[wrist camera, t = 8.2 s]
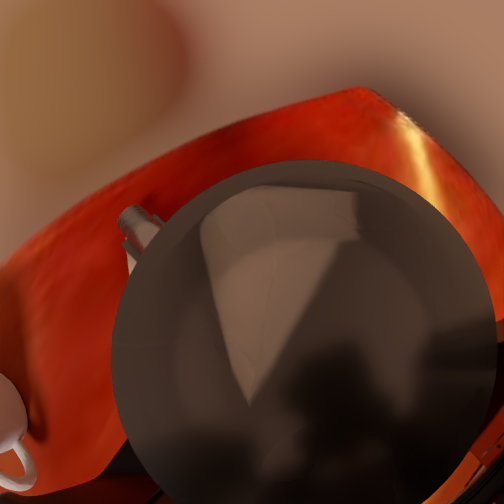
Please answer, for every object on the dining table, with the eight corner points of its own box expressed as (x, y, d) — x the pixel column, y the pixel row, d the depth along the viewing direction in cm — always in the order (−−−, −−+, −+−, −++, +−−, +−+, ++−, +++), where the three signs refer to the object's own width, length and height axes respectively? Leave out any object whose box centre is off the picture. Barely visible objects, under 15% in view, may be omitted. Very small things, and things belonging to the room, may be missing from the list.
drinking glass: (314, 331, 15) (477, 206, 4) (300, 416, 13) (465, 506, 1) (227, 316, 16) (185, 137, 4) (209, 402, 13) (88, 497, 2)
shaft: (217, 273, 20) (211, 250, 16) (183, 309, 19) (169, 293, 15) (156, 220, 22) (143, 193, 18) (125, 250, 20) (106, 226, 17)
